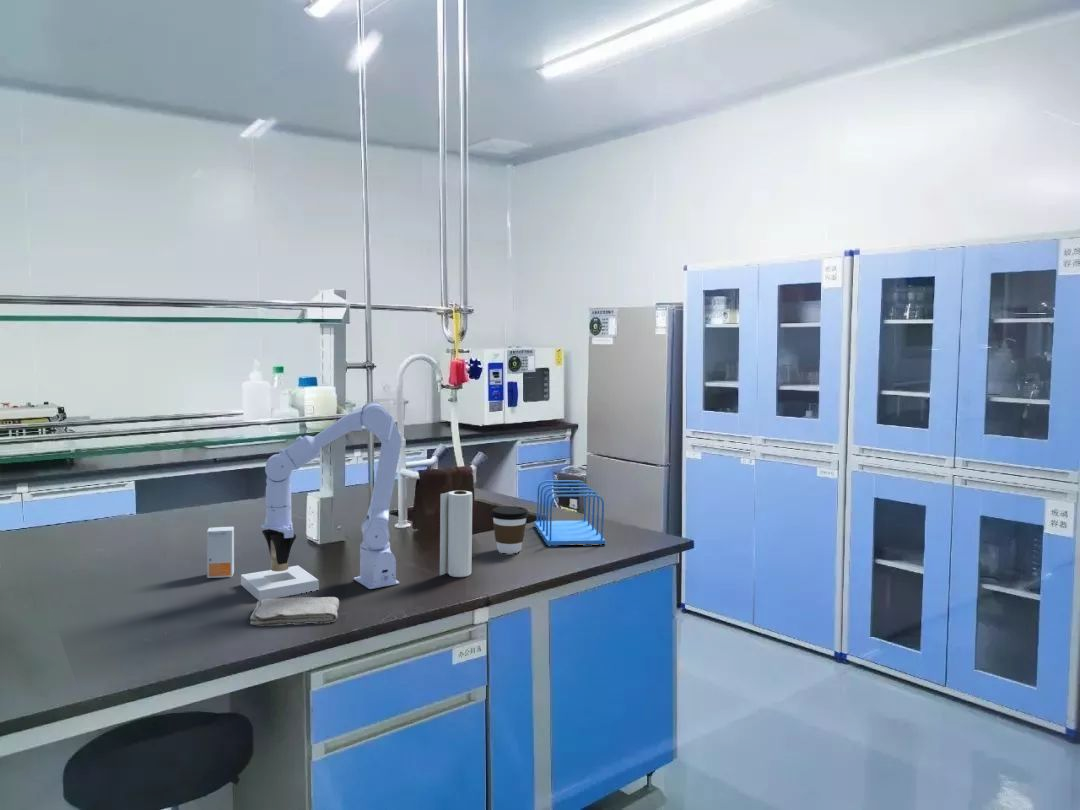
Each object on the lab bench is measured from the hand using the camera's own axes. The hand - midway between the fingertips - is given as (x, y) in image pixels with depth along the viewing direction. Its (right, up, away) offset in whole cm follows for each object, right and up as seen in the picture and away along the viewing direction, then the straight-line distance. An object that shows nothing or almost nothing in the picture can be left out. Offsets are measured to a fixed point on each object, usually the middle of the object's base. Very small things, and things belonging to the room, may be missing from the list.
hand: (279, 561), depth 189 cm
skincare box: (-17, -6, +9) cm, 20 cm away
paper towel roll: (+41, -6, +14) cm, 44 cm away
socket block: (0, -7, +1) cm, 6 cm away
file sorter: (+71, -3, +54) cm, 89 cm away
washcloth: (+9, -9, -17) cm, 21 cm away
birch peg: (0, -2, 0) cm, 2 cm away
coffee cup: (+54, -5, +36) cm, 64 cm away
